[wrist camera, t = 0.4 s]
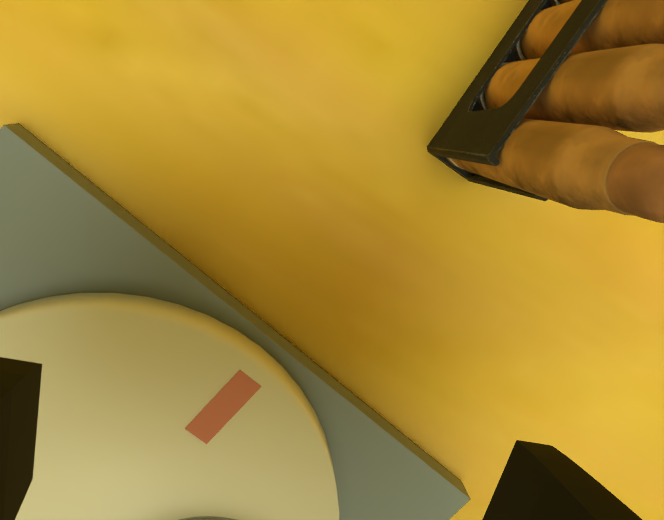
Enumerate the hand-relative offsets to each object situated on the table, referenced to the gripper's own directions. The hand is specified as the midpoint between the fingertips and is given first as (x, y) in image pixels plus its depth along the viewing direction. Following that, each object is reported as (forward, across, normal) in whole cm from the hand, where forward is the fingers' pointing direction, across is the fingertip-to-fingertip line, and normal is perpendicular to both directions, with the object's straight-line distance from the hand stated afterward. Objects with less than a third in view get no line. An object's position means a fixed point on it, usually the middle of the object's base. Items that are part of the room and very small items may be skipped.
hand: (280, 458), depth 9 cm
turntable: (+8, +4, +9) cm, 13 cm away
